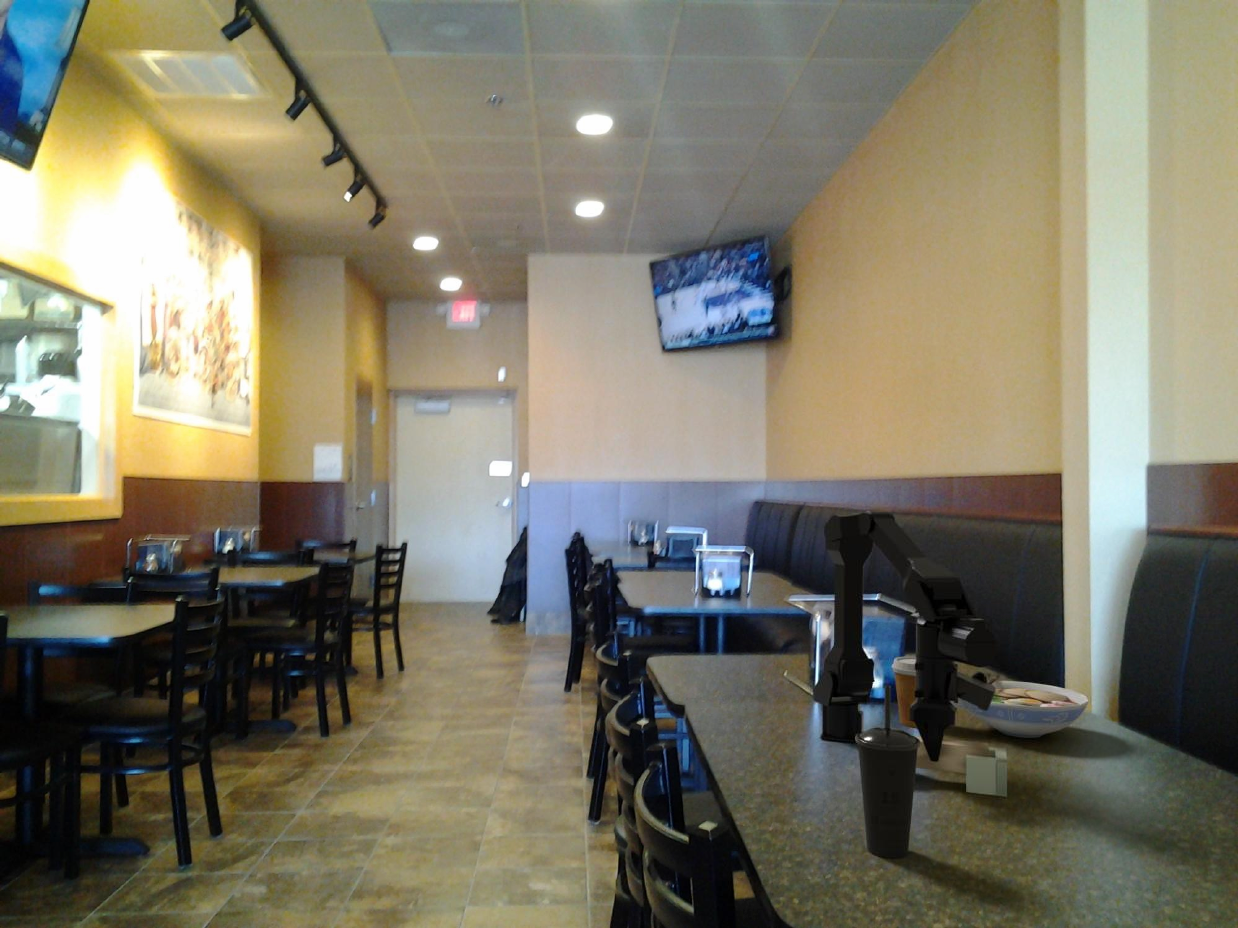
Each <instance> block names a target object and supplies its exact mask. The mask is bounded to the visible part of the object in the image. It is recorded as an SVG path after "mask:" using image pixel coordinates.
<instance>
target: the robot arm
mask: <svg viewBox="0 0 1238 928" xmlns="http://www.w3.org/2000/svg"><path fill="white" fill-rule="evenodd" d="M823 533H824V539H825V540H824V541H825V550H826V551H827V553H828V555H829V557H830V559H831V560H832V562H833V564H834V595H833V596H834V601H833V604H834V605H833V606H834V611H833V614H834V615H833V617H834V619H833V646H832V648H831V649H830V650H829V652H828V654H827V655H826V657H825V659H824V661H823V662H824V663H823V672H822V675H821V676H820V677H819V679H818V680H817V682H816V683H815V685H814V687H813V688H812V694H813V700H814V702H816V703H817V704H818V703H819V704H820V705H822V707H821V708H822V709H821V710H822V711H821V712H822V713H821V715H822V717H821V718H822V719H821V720H822V721H821V727H822V729H821V731H822V733H821V734H820V737H819V738H820V739H821V740H828V741H829V740H830V741H837V742H838V741H839V742H846V743H847V742H848V743H857V742H856V740H855V736H856V735H857V734H858V733H861V732H864V711H863V710H861V705H862V704H866V705H869V703H870V699H871V694H872V690H873V685H874V683H875V681H876V680H875V676H874V675H875V674H874V670H875V661H874V659H873V658H869V656H868V655H867V652H866V651H865V650H864V647H863V645H864V644H863V642H864V641H863V639H864V638H863V631H864V630H863V629H864V628H863V626H864V623H863V622H864V618H863V617H864V567H865V564H866V562H867V561H868V560H869V557H870V556H871V554H872V553H873V551H874V545H875V546H876V547H877V549H878V550H879V551H880V552H881V553H882V555H883V556H884V557H885V559H887V560H888V562H889V563H890V564H891V565H892V566H893V568H894V570H896V571H897V572H898V574H899V575H900V576H901V578H902V580H903V582H902V583H903V584H902V585H903V586H902V590H903V593H905V596H906V597H907V599H908V601H909V603H910V604H911V606H912V607H913V608H914V610H915V611H914V612H913V613H911V614H910V615H909V616H908V618H907V622H908V623H912V624H915V657H916V662H915V670H916V689H915V697H917V699H916V700H915V701H914V702H913V703H912V704H911V706H910V721H912V722H915V724H916V727H917V728H916V729H917V732H918V734H919V735H920V736H919V737H921V738H922V741H923V743H924V746H925V748H926V750H927V753H928V755H929V758H930V760H931V761H933V762H938V760H939V756H940V751H941V746H942V741H943V739H944V735H945V730H947V729H948V728H949V727H950V726H951V727H952V726H955V725H956V713H957V710H958V708H957V707H956V706H955V705H954V704H959V700H960V699H962V700H964V701H967V702H969V703H971V704H974V705H976V706H978V708H980V709H982V710H985V711H988V709H989V706H990V704H991V702H992V699H993V697H994V694H995V687H994V686H993V685H992V684H988V683H987V681H988V679H987V675H986V674H987V673H986V672H985V673H984V672H983V671H980V670H976V671H975V672H973V674H971V675H969V674H968V673H966V674H965V673H963V672H961V671H958V669H959V666H958V665H959V664H958V663H960V664H964V665H968V666H971V667H975V668H985V667H987V666H989V665H991V663H992V662H994V660H995V658H996V657H997V656H996V655H997V652H998V642H997V639H996V637H995V636H994V634H993V632H991V630H990V629H988V628H986V620H985V619H984V618H983V619H982V618H977V615H976V612H975V611H974V610H975V608H974V606H973V605H972V604H971V601H970V600H969V597H968V596H967V593H966V590H965V589H964V587H963V582H962V581H961V579H960V577H958V576H957V575H956V574H955V573H953V572H952V571H951V570H950V569H948V568H947V567H946V566H943V565H942V564H939V563H937V562H935V561H932V560H931V559H929V558H928V557H927V556H926V555H925V554H924V553H923V552H922V550H921V549H920V548H919V547H918V546H917V545H916V544H915V542H914V541H913V540H912V539H911V538H910V536H909V535H908V534H907V533H906V531H904V530H903V528H901V526H900V525H899V524H898V523H897V522H896V519H895V517H894V515H893V514H892V513H891V512H889V511H883V510H877V511H876V510H867V511H865V512H861V513H859V514H853V515H852V514H849V515H847V514H846V515H845V514H834V515H832V516H831V517H830V518H829V519H828V521H826V522H825V525H824V529H823Z"/></svg>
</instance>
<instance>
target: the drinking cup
mask: <svg viewBox="0 0 1238 928" xmlns="http://www.w3.org/2000/svg"><path fill="white" fill-rule="evenodd" d="M891 688H892V687H891V686H890V685H884V726H878V727H872V728H869V729H866V730H865V731H864V730H863V732H861V733H858V734H857V735H856V736H855V740H856V742H855V743H857V748H858V759H859V760H858V761H859V769H860V780H861V781H860V783H861V784H860V785H861V793H862V805H863V806H862V807H863V816H864V817H863V818H864V828H865V838H866V849H867V851H868V852H869V853H870V854H871V855H874V856H877V857H880V858H886V859H900V858H901V859H902V858H904V857H906V856H908V854H909V848H910V847H909V846H910V835H911V826H912V825H911V824H912V814H913V802H914V793H915V782H916V781H915V780H916V772H917V770H916V769H917V768H916V761H917V750H918V748H919V747H920V740H919V739H918V738H916V737H917V736H915V737H914V735H912V734H910V733H908V732H907V731H905V730H902V729H899V728H895V727H891Z"/></svg>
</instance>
